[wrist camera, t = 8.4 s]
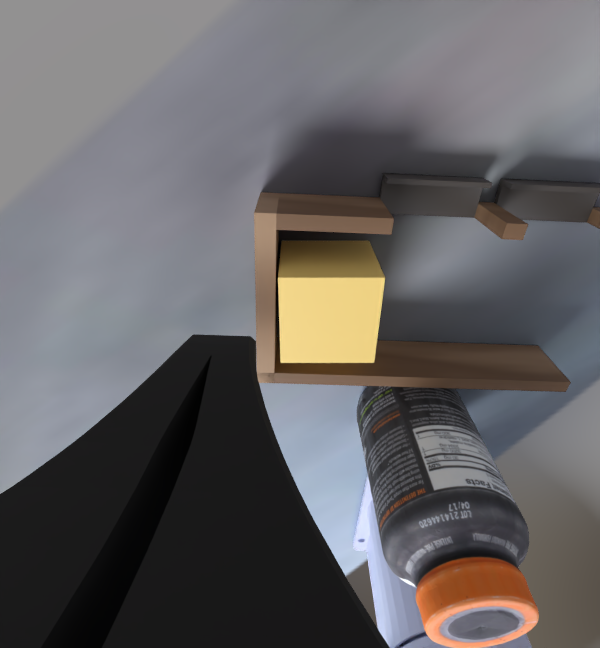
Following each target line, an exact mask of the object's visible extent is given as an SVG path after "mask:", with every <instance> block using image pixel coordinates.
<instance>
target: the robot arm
mask: <svg viewBox="0 0 600 648" xmlns="http://www.w3.org/2000/svg"><path fill="white" fill-rule="evenodd" d="M353 548H354V549H355V550H357V551H367V558H368V565H369V571H370V579H371V585H372V592H373V599H374V606H375V613H376V619H377V626H378V629H377V627H376V625H375V624H374V622H373V621H372V619H371V617H370V616H369V614H368V612H367V611H366V609H365V608H364V606H363V604H362V603H361V601H360V600H359V598H358V597H357V595H356V593H355V592H354V590H353V588H352V587H351V585H350V584H349V582H348V580H347V578H346V577H345V575H344V573H343V571H342V569H341V568H340V566H339V564H338V562H337V561H336V559H335V557H334V555H333V554H332V552H331V550H330V548H329V546H328V545H327V543H326V541H325V539H324V538H323V536H322V534H321V532H320V530H319V529H318V527H317V525H316V523H315V522H314V520H313V518H312V516H311V514H310V512H309V510H308V508H307V506H306V504H305V502H304V500H303V498H302V496H301V494H300V492H299V490H298V488H297V486H296V484H295V481H294V479H293V477H292V475H291V473H290V470H289V468H288V466H287V464H286V461H285V459H284V457H283V454H282V452H281V449H280V447H279V444H278V442H277V439H276V437H275V434H274V431H273V428H272V426H271V423H270V420H269V417H268V414H267V411H266V408H265V404H264V401H263V397H262V393H261V390H260V386H259V382H258V377H257V371H256V341H255V340H254V339H253V338H252V337H251V336H221V335H192V336H191V337H190V338H189V339H188V340H187V341H186V342H185V343H184V344H183V345H182V346H181V347H180V348H179V349H178V350H176V351H175V352H174V353H173V354H172V355H171V356H170V357H169V358H168V359H167V360H166V361H165V362H164V363H163V364H162V365H161V366H160V367H159V368H158V369H157V370H156V371H155V372H154V373H153V374H152V375H151V376H150V377H149V378H148V379H147V380H146V381H144V382H143V383H142V384H141V385H140V386H139V387H138V388H137V389H136V390H135V391H134V392H133V393H132V394H130V395H129V396H128V397H127V398H126V399H125V400H124V401H123V402H122V403H120V404H119V405H118V406H117V407H116V408H115V409H113V410H112V411H111V412H110V413H109V414H107V415H106V416H105V417H104V418H103V419H101V420H100V421H99V422H98V423H97V424H96V425H94V426H93V427H92V428H91V429H90V430H88V431H87V432H86V433H85V434H84V435H82V436H81V437H80V438H78V439H77V440H76V441H75V442H73V443H72V444H71V445H69V446H68V447H67V448H66V449H64V450H63V451H62V452H60V453H59V454H57V455H56V456H55V457H53V458H52V459H51V460H49V461H48V462H46V463H45V464H44V465H42V466H41V467H39V468H38V469H37V470H35V471H34V472H32V473H31V474H30V475H28V476H27V477H25V478H24V479H23V480H21V481H20V482H18V483H17V484H15V485H14V486H12V487H11V488H9V489H8V490H6V491H5V492H3V493H1V494H0V648H453V647H447V646H444V645H441V644H438V643H436V642H434V641H432V640H431V639H430V638H429V637H428V635H427V634H426V632H425V629H424V626H423V622H422V618H421V614H420V610H419V608H418V605H417V603H416V589H417V588H416V587H413V586H411V585H409V584H408V583H406V582H404V581H403V580H401V579H400V578H399V577H398V576H396V575H395V574H394V573H393V572H392V570H391V569H390V567H389V566H388V564H387V562H386V560H385V558H384V555H383V551H382V545H381V540H380V535H379V529H378V524H377V519H376V514H375V509H374V503H373V498H372V494H371V488H370V483H369V478H368V474H367V478H366V483H365V488H364V493H363V497H362V502H361V507H360V512H359V516H358V521H357V526H356V531H355V536H354V540H353ZM481 648H532V647H531V644H530V642H529V639H528V637H527V635H526V633H525V634H524V635H522V636H520V637H518V638H516V639H513V640H511V641H508V642H505V643H503V644H498V645H494V646H489V647H481Z"/></svg>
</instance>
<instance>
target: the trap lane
mask: <svg viewBox="0 0 600 648" xmlns="http://www.w3.org/2000/svg"><path fill="white" fill-rule="evenodd" d="M491 186H492V183H491V182H489V181H488V180H486V179H484V178H478V177H456V176H434V175H413V174H391V173H383V177H382V184H381V191H380V197H356V196H334V195H311V194H288V193H266V192H261V193H260V196H259V199H258V203H257V206H256V209H255V212H254V224H255V284H256V344H257V377H258V382H259V383H290V384H323V385H356V386H390V387H423V388H456V389H489V390H522V391H555V392H566V390H567V388H568V387H569V385H570V383H571V382H570V381H569V380H568V379H567V377H566V376H565V375H564V374H563V373H562V372H561V371H560V370H559V369H558V367H557V366H556V365H555V364H554V363H553V362H552V361H551V360H550V359H549V357H548V356H547V355H546V354H545V353H544V352H543V351H542V350H541V349H540V347H539V346H534V345H505V344H475V343H445V342H415V341H386V340H377V345H376V353H375V360H374V363H281V362H280V337H277V314H278V255H279V230H295V231H319V232H343V233H367V234H391V233H392V228H393V222H394V218H393V216H392V215H391V214H403V215H426V216H449V217H473V218H476V219H477V220H478V221H479V222H481V223H482V224H483V225H485V226H486V227H487V228H488V229H490V230H491V231H492V232H493V233H495V234H496V235H497V236H499V237H500V238H501V239H512V240H523V238H524V235H525V232H526V229H527V227H528V224H527V223H525V222H524V221H522V220H542V221H565V222H587V223H589V224H591V225H593V226H595V227H597V228H599V229H600V207H594V205H595V202H596V200H597V198H598V196H599V193H600V183H586V182H564V181H543V180H521V179H501V181H500V184H499V187H498V190H497V194H496V197H495V200H494V203H492V202H479V200H480V196H481V193H482V189H483V188H491Z"/></svg>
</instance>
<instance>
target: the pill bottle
mask: <svg viewBox="0 0 600 648" xmlns="http://www.w3.org/2000/svg"><path fill="white" fill-rule="evenodd" d="M357 422H358V426H359V432H360V437H361V441H362V446H363V451H364V456H365V461H366V467H367V472H368V478H369V483H370V488H371V494H372V498H373V503H374V509H375V514H376V519H377V524H378V529H379V535H380V540H381V545H382V551H383V555H384V558H385V560H386V562H387V564H388V566H389V567H390V569H391V570H392V572H393V573H394V574H395V575H396V576H398V577H399V578H400V579H401V580H403V581H404V582H406V583H408V584H409V585H411V586H413V587H416V588H417V589H416V603H417V605H418V608H419V610H420V614H421V618H422V622H423V626H424V629H425V632H426V634H427V635H428V637H429V638H430V639H431V640H432V641H434V642H436V643H438V644H441V645H444V646H447V647H453V648H481V647H489V646H494V645H498V644H503V643H505V642H508V641H511V640H513V639H516V638H518V637H520V636H522V635H524V634H525V633H527V632H528V631H530V630H531V629H532V628H533V627H534V626H535V625H536V623H537V622H538V619H539V612H538V609H537V606H536V604H535V602H534V600H533V598H532V595H531V593H530V591H529V588H528V585H527V582H526V579H525V577H524V576H523V574H522V573H521V571H520V570H519V569H518V566H519V565H520V564H521V562H522V561H523V560H524V558H525V556H526V553H527V550H528V546H529V532H528V527H527V524H526V522H525V520H524V518H523V516H522V514H521V512H520V510H519V508H518V507H517V505H516V503H515V501H514V499H513V497H512V495H511V493H510V491H509V489H508V487H507V486H506V484H505V482H504V480H503V478H502V476H501V474H500V472H499V471H498V469H497V466H496V464H495V462H494V461H493V459H492V457H491V455H490V453H489V451H488V449H487V447H486V445H485V443H484V442H483V440H482V438H481V436H480V434H479V432H478V430H477V428H476V426H475V425H474V423H473V421H472V419H471V417H470V415H469V413H468V411H467V409H466V407H465V405H464V404H463V402H462V400H461V398H460V396H459V394H458V392H457V390H456V388H423V387H390V386H368V387H367V388H366V390H365V391H364V392H363V394H362V395H361V397H360V399H359V402H358V406H357Z"/></svg>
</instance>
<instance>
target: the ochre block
mask: <svg viewBox="0 0 600 648" xmlns="http://www.w3.org/2000/svg"><path fill="white" fill-rule="evenodd" d="M384 283H385V276H384V274H383V271H382V269H381V267H380V265H379V262H378V260H377V258H376V255H375V253H374V251H373V249H372V246H371V244H370V242H369V241H282V242H281V252H280V262H279V273H278V294H279V328H280V362H281V363H374V360H375V353H376V345H377V337H378V329H379V322H380V314H381V306H382V299H383V291H384Z"/></svg>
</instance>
